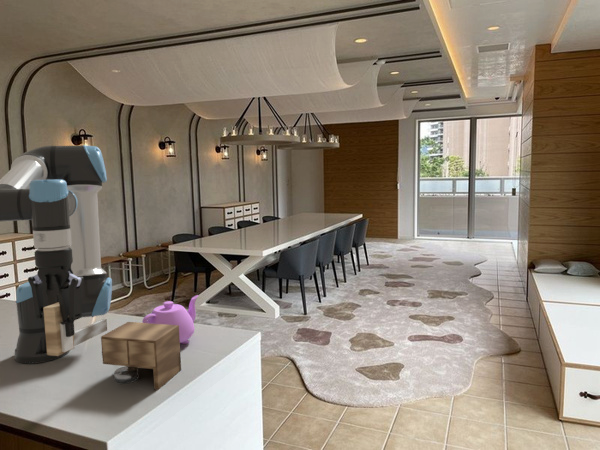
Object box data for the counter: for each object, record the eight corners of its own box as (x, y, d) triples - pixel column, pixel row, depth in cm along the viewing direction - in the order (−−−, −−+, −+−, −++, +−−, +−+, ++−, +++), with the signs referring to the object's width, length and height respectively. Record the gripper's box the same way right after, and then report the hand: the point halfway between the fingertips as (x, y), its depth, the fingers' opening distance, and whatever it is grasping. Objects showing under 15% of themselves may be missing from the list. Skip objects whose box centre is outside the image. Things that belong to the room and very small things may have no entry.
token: (110, 383, 125) (109, 374, 124) (123, 373, 130) (123, 365, 130) (130, 385, 123) (129, 376, 123) (142, 375, 129) (142, 366, 129)
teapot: (186, 328, 166) (184, 290, 165) (214, 337, 156) (213, 297, 155) (129, 346, 150) (126, 305, 148) (156, 359, 140) (154, 314, 138)
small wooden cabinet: (103, 384, 124) (100, 336, 122) (130, 365, 135) (128, 321, 134) (158, 390, 120) (155, 341, 118) (181, 369, 132) (178, 325, 130)
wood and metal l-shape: (58, 356, 105) (54, 308, 104) (47, 355, 105) (43, 307, 104) (110, 330, 122) (107, 289, 121) (100, 329, 123) (98, 288, 122)
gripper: (10, 250, 104) (19, 352, 106) (70, 251, 99) (78, 358, 102) (37, 245, 111) (45, 341, 113) (95, 246, 107) (101, 346, 109)
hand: (61, 349), depth 107 cm, fingers closed on wood and metal l-shape, 3 cm apart
